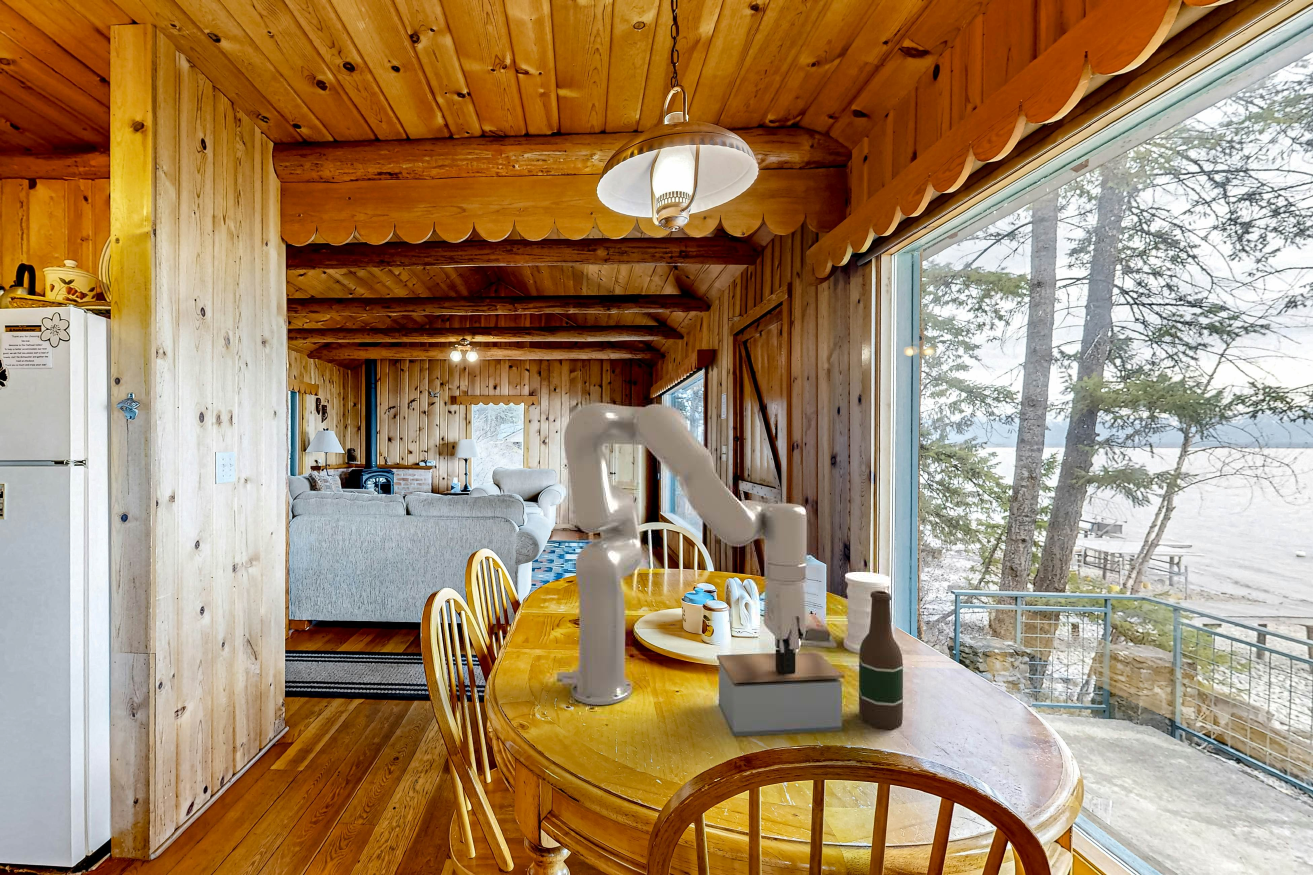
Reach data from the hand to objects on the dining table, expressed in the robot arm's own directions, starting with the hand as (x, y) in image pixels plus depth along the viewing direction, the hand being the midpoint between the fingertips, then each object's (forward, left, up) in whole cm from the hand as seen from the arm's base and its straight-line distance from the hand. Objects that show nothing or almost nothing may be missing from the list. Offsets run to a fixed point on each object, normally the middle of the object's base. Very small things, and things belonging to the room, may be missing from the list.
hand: (785, 672), depth 101 cm
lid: (0, +4, -1) cm, 4 cm away
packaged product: (+24, +47, -11) cm, 54 cm away
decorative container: (+35, +37, -10) cm, 52 cm away
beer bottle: (+19, +1, -10) cm, 22 cm away
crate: (0, +4, -10) cm, 11 cm away
